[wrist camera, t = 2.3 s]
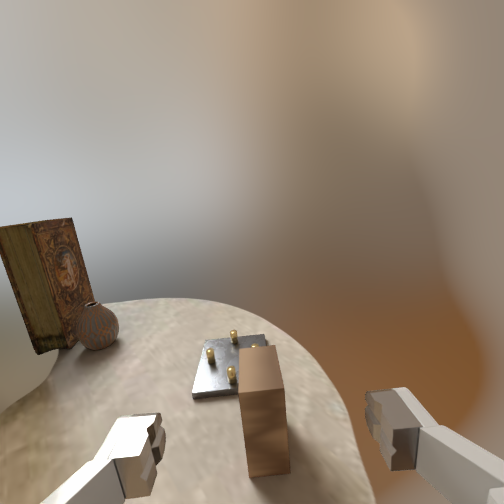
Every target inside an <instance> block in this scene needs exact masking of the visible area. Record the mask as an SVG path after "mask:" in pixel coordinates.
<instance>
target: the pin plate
mask: <svg viewBox="0 0 504 504" xmlns="http://www.w3.org/2000/svg"><path fill="white" fill-rule="evenodd" d="M230 335H231V338H221V339H212V340H205V344H204V348H203V352H202V356H201V359H200V363H199V367H198V371H197V375H196V379H195V383H194V387H193V391H192V396H193V399H197V398H206V397H216V396H225V395H234V394H238V388H239V349H243V348H252V347H262V346H266V342H265V335H264V334H260V335H250V336H241V337H237V331H236V330H232V331H230Z"/></svg>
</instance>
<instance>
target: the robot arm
mask: <svg viewBox="0 0 504 504" xmlns="http://www.w3.org/2000/svg"><path fill="white" fill-rule="evenodd" d="M365 400H366V402H367V403H368V406H367V407H366V408H365V418H366V422H367V426H368V428H369V431H370V433H371V435H372V437H373V438H374V439H375V440H376V441H378V442H379V443H380V452H381V454H382V456H383V457H384V459H385V461H386V463H387V465H388V467H389V469H390V471H401V470H415V469H416V471H417V473H418V474H420V475H421V476H422V477H423V478H424V479H425V480H426V481H427V482H428V483H430V484H431V485H432V486H433V487H434V488H435V489H436V490H438V491H439V492H440V493H441V494H442V495H443V496H444V497H445V498H446V499H447V500H449V501H450V502H451V503H452V504H504V461H503V460H501V459H500V458H498V457H497V456H495V455H493V454H491V453H490V452H488V451H486V450H485V449H483V448H481V447H479V446H478V445H476V444H474V443H473V442H471V441H469V440H468V439H466V438H464V437H462V436H461V435H459V434H457V433H456V432H454V431H452V430H450V429H449V428H447V427H445V426H443V425H442V426H439V425H438V424H437V422H436V421H435V420H434V419H433V418H432V417H431V415H430V414H429V413H428V412H427V411H426V410H425V409H424V407H423V406H422V405H421V404H420V403H419V401H418V400H417V399H416V398H415V397H414V395H413V394H412V393H411V392H410V391H409V390H408V389H407V388H405V387H403V388H394V389H384V390H376V391H367V392H366V394H365ZM161 422H162V417H161V413H147V414H134V415H123V416H120V417H119V418H118V419H117V420H116V421H115V423H114V425H113V427H112V428H111V430H110V432H109V434H108V435H107V437H106V439H105V440H104V442H103V444H102V446H101V447H100V449H99V451H98V453H97V454H96V456H95V458H94V460H93V461H88V462H87V463H86V464H85V465H84V466H83V467H82V468H80V469H79V470H78V471H77V472H76V473H75V474H74V475H72V476H71V477H70V478H69V479H68V480H67V481H65V482H64V483H63V484H62V485H61V486H60V487H59V488H57V489H56V490H55V491H54V492H53V493H52V494H51V495H49V496H48V497H47V498H46V499H45V500H44V501H43V502H41V503H40V504H123V503H124V502H125V499H131V498H138V497H145V496H150V495H151V492H152V489H153V485H154V482H155V479H156V476H157V470H156V465H157V464H158V463H159V462H160V461H161V460H162V457H163V454H164V450H165V443H166V434H165V430H164V428H162V427H161V426H160V425H161Z"/></svg>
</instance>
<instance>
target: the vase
mask: <svg viewBox="0 0 504 504" xmlns="http://www.w3.org/2000/svg"><path fill="white" fill-rule="evenodd" d="M118 332H119V324H118V320H117V317H116V316H115V314H114V313H113V312H112V311H111V310H109V309H108V308H106V307H104V306H102V305H101V304H100V303H99V302H91V303H89V304H87V305H85V307H84V311H83V313H82V315H81V317H80V318H79V320H78V323H77V336H78V339H79V341H80V342H81V344H82V345H83V346H85V347H86V348H88V349H92V350H99V349H103V348H105V347H108V346H109V345H111V344H112V343H113V342H114V340H115V339H116V337H117V335H118Z"/></svg>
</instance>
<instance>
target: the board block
mask: <svg viewBox="0 0 504 504" xmlns="http://www.w3.org/2000/svg"><path fill="white" fill-rule="evenodd" d="M238 394H239V402H240V409H241V417H242V425H243V433H244V441H245V448H246V456H247V464H248V472H249V478H254V477H263V476H272V475H280V474H289V473H290V461H289V447H288V433H287V419H286V405H285V391H284V384H283V380H282V375H281V370H280V366H279V361H278V356H277V352H276V347H275V345H271V346H262V347H252V348H243V349H239V388H238Z"/></svg>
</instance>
